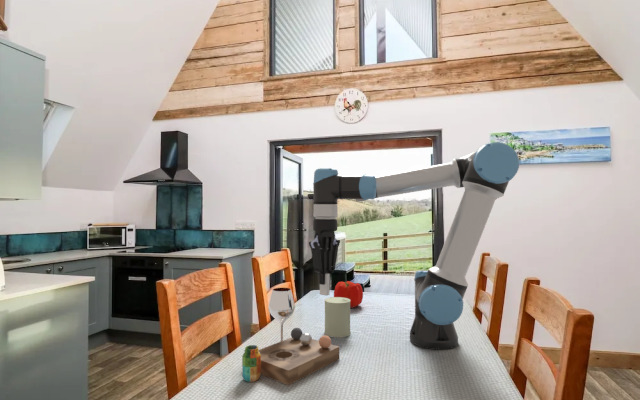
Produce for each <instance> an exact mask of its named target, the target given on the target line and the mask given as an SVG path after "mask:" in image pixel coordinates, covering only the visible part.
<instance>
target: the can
mask: <svg viewBox="0 0 640 400" xmlns="http://www.w3.org/2000/svg"><path fill="white" fill-rule="evenodd" d="M350 301H351V300H350V299H348V298H343V297H334V296H331V297H327V298H325V299H324V332H323V333H324V335H326V336H329V337H331V338H346V337H349V336H350V335H351V308H350Z"/></svg>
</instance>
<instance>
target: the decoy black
mask: <svg viewBox="0 0 640 400" xmlns="http://www.w3.org/2000/svg"><path fill="white" fill-rule="evenodd" d="M302 334H303V331H302V329H301V328H300V327H295V328H293V329H292V330H291V332H290V336H291V337H290V338H293V339H294V340H299V339H300V337H301V335H302Z"/></svg>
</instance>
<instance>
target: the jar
mask: <svg viewBox="0 0 640 400" xmlns="http://www.w3.org/2000/svg"><path fill="white" fill-rule="evenodd" d="M259 350H260V349H259V346H258V345H253V344H251V345H246V346H245V348H244V352H243V354H242V355H241V356H242V360H241V362H242V366H241V367H242V368H241V369H242V372H241V373H242V378H243V380H244V381H245V382H246V383H247V382H248V383H253V382H257V381H258V380H259V379H260V377H261V374H260V373H261V354H260V352H259Z"/></svg>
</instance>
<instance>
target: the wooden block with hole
mask: <svg viewBox="0 0 640 400" xmlns="http://www.w3.org/2000/svg"><path fill="white" fill-rule="evenodd" d="M259 352H260V354H261V373H260V375H262V376H264V377H267V378H268V379H269V378H270V379H272V380H275V381H276V382H279V383H281V384H284V385H286V386H290V385H292V384H294V383H296V382H299V380H302V379H304V378H305V377H308V376H309V375H312V374H314V373H315V372H317V371H320V370H322V369H324V368H325V367H327V366H329V365H331V364H333V363H336V362H337V361H339V360H340V346H338V345H334V344H332V343H331V345H330V346H329V347H328V348H322V347H321V346H320V345H319V339H314V338H312V342H311V344H310V345H308V346H304V345H302V344H301V342H300V339H299V340H294V339H293V338H292V337H289V338H286V339H283V341H281V342H280V341H278V342H276V343H273V344H270V345H268V346H265V347H262V348H260V349H259Z"/></svg>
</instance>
